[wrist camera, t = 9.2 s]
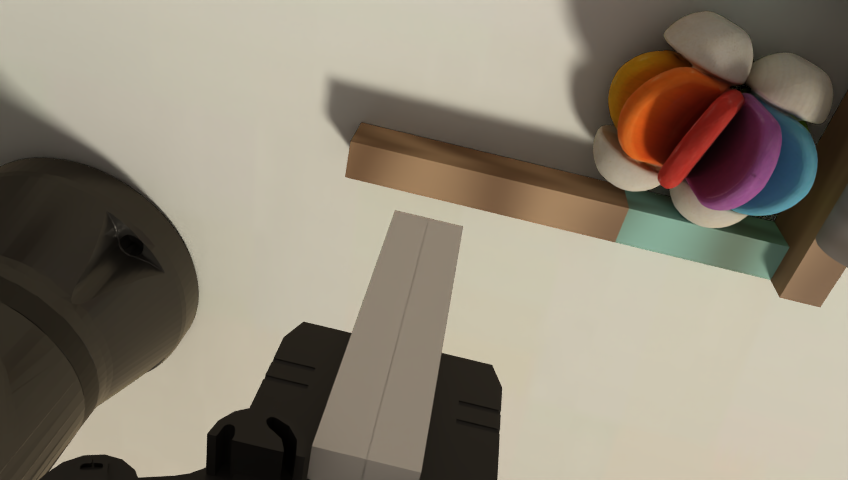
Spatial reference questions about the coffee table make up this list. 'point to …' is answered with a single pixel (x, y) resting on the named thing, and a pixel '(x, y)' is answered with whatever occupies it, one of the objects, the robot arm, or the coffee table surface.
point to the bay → (630, 206)
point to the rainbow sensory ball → (714, 124)
